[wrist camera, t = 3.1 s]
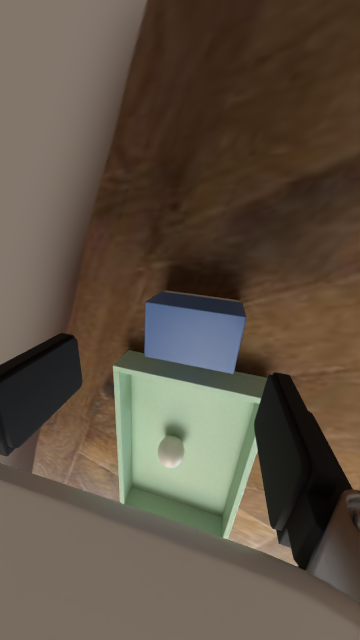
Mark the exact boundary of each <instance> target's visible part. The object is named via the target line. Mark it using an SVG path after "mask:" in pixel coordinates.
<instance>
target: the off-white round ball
mask: <svg viewBox="0 0 360 640" xmlns="http://www.w3.org/2000/svg"><path fill="white" fill-rule="evenodd" d="M184 453H185V450H184V445H183V443H182V441H181V440H180V439H179V438H178V437H176V436H167V437H165V438H164V439H163V440H162V441H161V442H160V444H159V447H158V457H159V460H160V462H161V463H162V464H163V465H164V466H165V467H167V468H174V467H177V466H178V465H179V464H180V463H181V462H182V460H183V458H184Z"/></svg>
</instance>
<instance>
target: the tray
mask: <svg viewBox="0 0 360 640" xmlns="http://www.w3.org/2000/svg"><path fill="white" fill-rule="evenodd" d="M113 374H114V394H115V413H116V432H117V452H118V471H119V490H120V503H122V504H125V505H128V506H131V507H134V508H137V509H140V510H143V511H146V512H149V513H152V514H155V515H158V516H161V517H164V518H167V519H170V520H173V521H176V522H179V523H182V524H185V525H188V526H191V527H194V528H197V529H200V530H202V531H205V532H208V533H211V534H214V535H216V536H219V537H222V538H225V539H227V540H228V537H229V534H230V531H231V528H232V525H233V522H234V519H235V516H236V513H237V510H238V507H239V504H240V501H241V498H242V495H243V492H244V489H245V486H246V483H247V480H248V477H249V474H250V471H251V468H252V465H253V462H254V459H255V456H256V453H257V450H258V449H257V443H256V437H255V431H254V421H255V417H256V414H257V411H258V407H259V404H260V401H261V397H262V394H263V391H264V387H265V384H266V381H267V378H266V377H261V376H256V375H251V374H246V373H241V372H236V371H234V374H230V373H225V372H220V371H215V370H210V369H205V368H200V367H196V366H191V365H186V364H181V363H176V362H171V361H166V360H161V359H156V358H151V357H146V356H144V353H141V352H136V351H131V350H128V351H127V352H126V353H125V354H124V355H123V356H122V357H121V358H120V359H119V360H118V361H117V362H116V363H115V364H114V365H113ZM167 436H176V437H178V438H179V439H180V440H181V441H182V443H183V445H184V450H185V453H184V458H183V460H182V462H181V463H180V464H179V465H178V466H177V467H174V468H167V467H165V466H164V465H163V464H162V463H161V462H160V460H159V457H158V447H159V444H160V442H161V441H162V440H163V439H164V438H165V437H167Z"/></svg>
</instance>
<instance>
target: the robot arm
mask: <svg viewBox="0 0 360 640" xmlns="http://www.w3.org/2000/svg"><path fill="white" fill-rule="evenodd" d="M81 385H82V374H81V366H80V358H79V351H78V343H77V340H76V339H75V337H74V336H73V335H69V334H64V333H61V334H58V335H56V336H54V337H53V338H51V339H49V340H47V341H45V342H43V343H41V344H39V345H38V346H35V347H34V348H32V349H30V350H28V351H26V352H24V353H22V354H20V355H18V356H16V357H15V358H13V359H11V360H9V361H7V362H5V363H3V364H1V365H0V455H3V456H8V455H9V454H10V453H11V452H12V451H13V450H14V449H15V448H18V447H20V446H21V445H22V444H23V443H24V442H25V441H26V440H27V439H28V438H29V437H30V436H31V435H32V434H33V433H35V432H36V431H37V430H38V429H39V428H40V427H41V426H42V425H43V424H44V423H45V422H46V421H47V420H48V419H49V418H50V417H51V416H52V415H53V414H54V413H55V412H56V411H57V410H58V409H59V408H60V407H61V406H62V405H63V404H64V403H65V402H66V401H67V400H68V399H69V398H70V397H71V396H72V395H73V394H74V393H75V392H76V391H77V390H78V389H79V388H80V387H81ZM254 431H255V437H256V443H257V449H258V455H259V461H260V467H261V473H262V479H263V485H264V491H265V497H266V503H267V509H268V515H269V520H270V525H271V527H272V528H273V529H276V531H277V536H278V542H279V544H281V545H284V546H287V547H290V548H291V549H292V554H293V558H294V560H295V561H296V563H297V566H294V565H292V564H290V563H287V562H285V561H282V560H280V559H278V558H275V557H273V556H271V555H268V554H266V553H263V552H261V551H258V550H255V549H252V548H250V547H247V546H244V545H241V544H239V543H236V542H233V541H230V540H227V539H225V538H222V537H219V536H216V535H214V534H211V533H208V532H205V531H202V530H200V529H197V528H194V527H191V526H188V525H185V524H182V523H179V522H176V521H173V520H170V519H167V518H164V517H161V516H158V515H155V514H152V513H149V512H146V511H143V510H140V509H137V508H134V507H131V506H128V505H125V504H122V503H119V502H116V501H114V500H111V499H107V498H104V497H101V496H98V495H95V494H92V493H89V492H86V491H83V490H80V489H77V488H74V487H71V486H68V485H65V484H62V483H59V482H56V481H53V480H50V479H47V478H44V477H41V476H38V475H35V474H32V473H29V472H25V471H22V470H19V469H16V468H13V467H10V466H7V465H4V464H1V463H0V640H360V491H358V490H353V489H352V487H351V485H350V483H349V481H348V480H347V478H346V476H345V474H344V472H343V470H342V468H341V466H340V465H339V463H338V461H337V459H336V457H335V455H334V453H333V451H332V449H331V448H330V446H329V444H328V442H327V440H326V438H325V436H324V434H323V433H322V431H321V429H320V427H319V425H318V423H317V421H316V419H315V418H314V416H313V415H312V413H310V412H309V411H308V410H307V408H306V406H305V404H304V402H303V400H302V398H301V396H300V394H299V392H298V390H297V389H296V387H295V385H294V383H293V381H292V379H291V377H290V376H289V375H287V374H281V373H276V372H275V373H273V375H268V378H267V381H266V384H265V387H264V391H263V394H262V397H261V401H260V404H259V407H258V411H257V414H256V417H255V421H254Z"/></svg>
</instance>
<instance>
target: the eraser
mask: <svg viewBox="0 0 360 640" xmlns="http://www.w3.org/2000/svg"><path fill="white" fill-rule="evenodd" d="M245 321H246V315H245V311H244V307H243V304H242V302H240V300H233V299H226V298H218V297H211V296H203V295H196V294H189V293H181V292H174V291H164V292H160V293H158V294H157V295H155V296H154V297H152V298H151V299H149V300H148V301H146V302H145V353H144V356H146V357H151V358H156V359H161V360H166V361H171V362H176V363H181V364H186V365H191V366H196V367H200V368H205V369H210V370H215V371H220V372H225V373H230V374H234V371H235V366H236V362H237V357H238V353H239V348H240V344H241V339H242V335H243V330H244V326H245Z"/></svg>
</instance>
